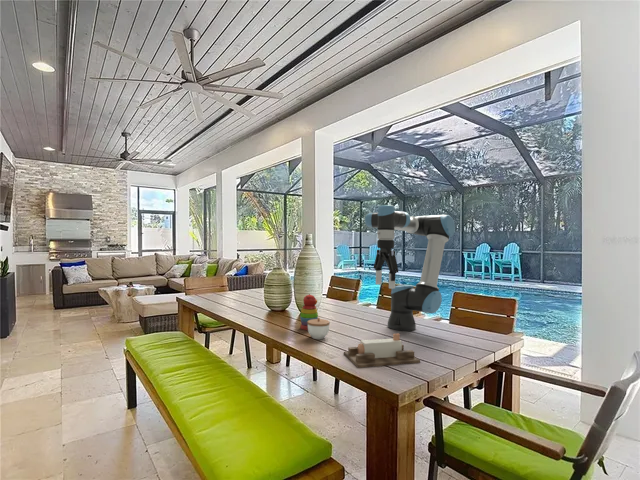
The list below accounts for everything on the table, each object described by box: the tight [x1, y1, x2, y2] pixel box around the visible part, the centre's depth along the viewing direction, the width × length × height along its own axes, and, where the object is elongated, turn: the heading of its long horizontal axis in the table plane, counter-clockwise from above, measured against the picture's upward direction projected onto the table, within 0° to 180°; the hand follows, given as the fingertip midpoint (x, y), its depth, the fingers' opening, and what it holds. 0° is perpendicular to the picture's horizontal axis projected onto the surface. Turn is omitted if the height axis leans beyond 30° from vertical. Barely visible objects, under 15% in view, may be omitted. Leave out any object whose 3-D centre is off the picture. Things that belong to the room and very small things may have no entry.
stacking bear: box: [299, 293, 319, 331], centre depth 186 cm, size 11×10×18 cm
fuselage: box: [357, 333, 403, 358], centre depth 140 cm, size 17×4×8 cm, turn 105°
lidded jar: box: [307, 317, 331, 340], centre depth 169 cm, size 11×11×9 cm
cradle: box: [343, 344, 421, 369], centre depth 141 cm, size 26×16×4 cm, turn 105°
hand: (384, 286), depth 158 cm, fingers open, 13 cm apart
